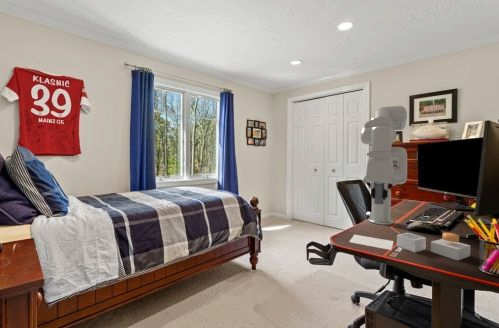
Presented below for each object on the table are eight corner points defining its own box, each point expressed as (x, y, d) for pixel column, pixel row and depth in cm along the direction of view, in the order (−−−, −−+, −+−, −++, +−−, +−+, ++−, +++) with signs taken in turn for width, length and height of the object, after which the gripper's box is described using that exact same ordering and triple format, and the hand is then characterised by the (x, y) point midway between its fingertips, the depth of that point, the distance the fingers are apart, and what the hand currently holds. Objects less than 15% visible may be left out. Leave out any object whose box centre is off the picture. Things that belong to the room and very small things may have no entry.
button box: (430, 251, 99) (430, 241, 99) (442, 248, 103) (443, 238, 103) (457, 260, 91) (458, 249, 91) (470, 256, 96) (470, 245, 95)
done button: (439, 238, 98) (439, 233, 98) (446, 236, 101) (446, 231, 100) (454, 242, 94) (455, 237, 94) (461, 240, 96) (461, 235, 96)
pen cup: (396, 246, 104) (397, 234, 104) (407, 244, 108) (407, 232, 107) (414, 253, 98) (415, 240, 98) (425, 250, 101) (425, 237, 101)
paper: (348, 242, 109) (348, 241, 109) (354, 234, 119) (354, 234, 119) (391, 250, 100) (391, 249, 100) (393, 241, 110) (393, 241, 110)
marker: (372, 203, 109) (372, 177, 109) (377, 202, 111) (378, 177, 110) (379, 204, 106) (380, 178, 105) (385, 203, 108) (386, 178, 107)
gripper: (357, 155, 109) (356, 197, 110) (402, 156, 100) (400, 202, 101) (361, 155, 115) (359, 195, 116) (403, 155, 106) (402, 199, 107)
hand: (379, 198), depth 108 cm, fingers closed on marker, 3 cm apart
